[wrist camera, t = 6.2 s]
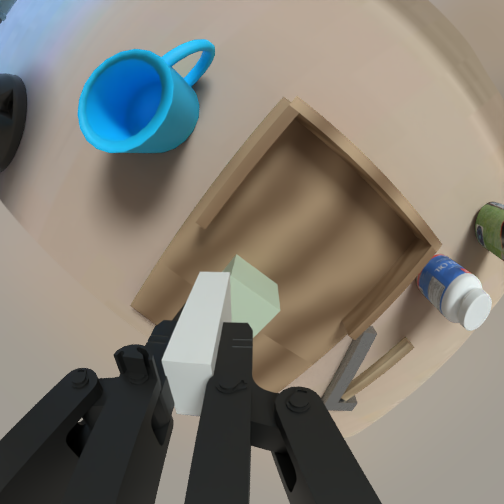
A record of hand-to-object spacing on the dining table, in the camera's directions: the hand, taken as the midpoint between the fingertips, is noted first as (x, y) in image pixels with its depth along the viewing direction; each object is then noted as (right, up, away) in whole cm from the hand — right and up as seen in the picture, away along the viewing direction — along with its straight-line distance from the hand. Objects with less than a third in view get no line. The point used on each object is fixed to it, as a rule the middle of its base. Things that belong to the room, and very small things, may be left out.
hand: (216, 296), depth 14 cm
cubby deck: (+5, +1, +14) cm, 15 cm away
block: (+1, -1, +13) cm, 13 cm away
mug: (-6, +17, +9) cm, 20 cm away
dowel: (+18, -13, +19) cm, 30 cm away
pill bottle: (+23, 0, +14) cm, 27 cm away
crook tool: (+15, -13, +19) cm, 28 cm away
